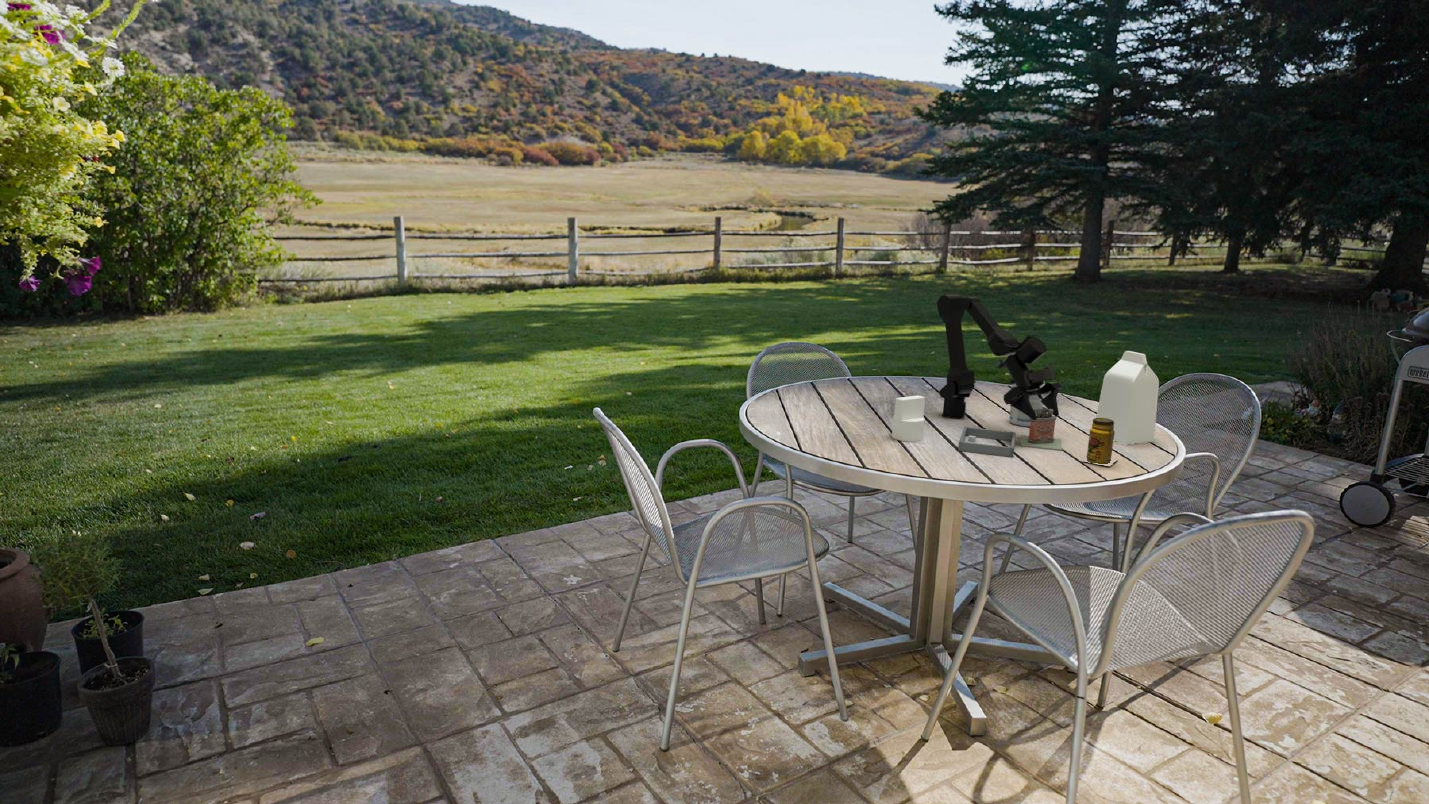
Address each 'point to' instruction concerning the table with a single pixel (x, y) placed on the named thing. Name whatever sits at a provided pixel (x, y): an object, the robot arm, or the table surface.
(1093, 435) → the condiment
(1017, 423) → the supplement tub
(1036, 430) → the lighter
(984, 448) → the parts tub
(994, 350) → the robot arm
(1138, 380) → the milk
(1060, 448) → the mat
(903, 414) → the base with upright slab
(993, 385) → the table surface
